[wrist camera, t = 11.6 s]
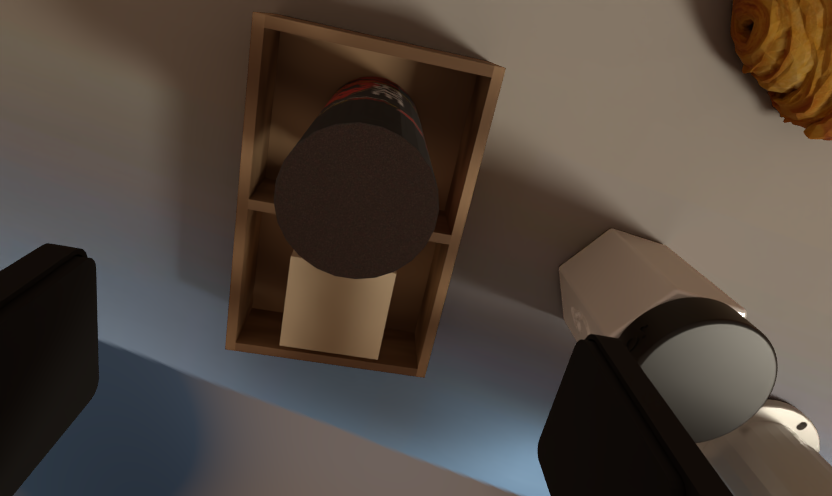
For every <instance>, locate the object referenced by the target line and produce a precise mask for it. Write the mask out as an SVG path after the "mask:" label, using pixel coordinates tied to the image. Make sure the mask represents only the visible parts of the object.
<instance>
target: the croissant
mask: <svg viewBox="0 0 832 496" xmlns="http://www.w3.org/2000/svg"><path fill="white" fill-rule="evenodd" d="M730 33H731V37H732V40H733V41H734V44H735V52H736V53H737V55H738V56H739V58H740V59H741V61H742V63H743V68H742V72H743V73H744V74H745V73H751V75H752V76H753V77H754V78H755V79H756V80H757V81H758V84H759V85H760V86H761V87H763V88H764V89H766V90H768V94H769V95H770V98H771V101H772V106H773V107H774V108H776V110H777V111H778V112H779V113H780V117H784V118H785V119H784V123H786V122H792V124H793V125H798V126H802V127H804V128H806V129H805V130H804V134H805V135H806V136H807V137H808V138H809V139H823V140H832V0H733V8H732V18H731V32H730Z"/></svg>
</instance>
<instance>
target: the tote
mask: <svg viewBox="0 0 832 496" xmlns="http://www.w3.org/2000/svg"><path fill="white" fill-rule="evenodd" d="M505 69H506V68H504V67H501V66H499V65H496V64H494V63H491V62H489V61H484V60H480V59H475V58H471V57H466V56H462V55H457V54H453V53H448V52H444V51H440V50H435V49H431V48H426V47H422V46H417V45H413V44H408V43H404V42H399V41H395V40H390V39H386V38H381V37H377V36H372V35H368V34H364V33H359V32H355V31H350V30H346V29H341V28H337V27H332V26H328V25H323V24H319V23H314V22H310V21H305V20H301V19H296V18H292V17H288V16H283V15H279V14H274V13H261V12H253V16H252V28H251V40H250V52H249V65H248V77H247V89H246V101H245V114H244V126H243V138H242V150H241V163H240V175H239V187H238V199H237V211H236V224H235V236H234V248H233V260H232V273H231V285H230V297H229V309H228V322H227V334H226V346H225V349H227V350H234V351H241V352H248V353H255V354H262V355H269V356H276V357H283V358H290V359H297V360H304V361H311V362H318V363H325V364H332V365H339V366H346V367H353V368H360V369H367V370H374V371H381V372H388V373H395V374H402V375H409V376H416V377H423V378H425V374H426V370H427V367H428V363H429V359H430V355H431V351H432V347H433V344H434V340H435V336H436V332H437V328H438V325H439V321H440V317H441V313H442V309H443V306H444V302H445V298H446V294H447V290H448V286H449V283H450V279H451V275H452V271H453V267H454V264H455V260H456V256H457V252H458V248H459V245H460V241H461V237H462V233H463V229H464V225H465V222H466V218H467V214H468V210H469V206H470V203H471V199H472V195H473V191H474V187H475V184H476V180H477V176H478V172H479V168H480V164H481V161H482V157H483V153H484V149H485V145H486V142H487V138H488V134H489V130H490V126H491V123H492V119H493V115H494V111H495V107H496V104H497V100H498V96H499V92H500V88H501V84H502V81H503V77H504V73H505ZM368 76H375V77H380V78H385V79H388V80H390V81H392V82H394V83H396V84H398V85H399V86H400V87H401V88H402V89H403V90H404V91H406V92H407V93H408V95H409V96H410V98H411V99H412V101H413V102H414V104H415V107H416V110H417V113H418V116H419V119H420V123H421V127H422V130H423V134H424V138H425V142H426V146H427V149H428V153H429V157H430V161H431V164H432V168H433V172H434V176H435V179H436V183H437V187H438V196H439V213H438V217H437V221H436V226H435V230H434V231H433V233H432V235H431V237H430V239H429V241H428V243H427V244H426V246H425V248H424V249H423V250H422V251H421V252H420V253H419V254H418V255H417V256H416V257H415V258H414V259H413V260H412V261H411V262H409V263H408V264H406V265H404V266H403V267H401V268H400V269H398V270H396V278H395V282H394V287H393V292H392V296H391V301H390V305H389V310H388V315H387V319H386V324H385V328H384V333H383V338H382V342H381V347H380V351H379V356H378V360H376V359H369V358H362V357H355V356H348V355H342V354H335V353H328V352H321V351H314V350H307V349H300V348H293V347H287V346H280V337H281V329H282V321H283V313H284V306H285V298H286V290H287V282H288V275H289V267H290V259H291V255H292V252H293V250H294V249H293V248H292V247H291V246H290V244H289V243H288V242H287V241H286V239H285V237H284V235H283V233H282V231H281V228H280V226H279V224H278V222H277V217H276V212H275V207H274V192H275V182H276V179H277V176H278V174H279V171H280V169H281V166H282V164H283V161H284V160H285V159H286V157H287V156H288V155H289V153H290V152H291V151H292V149H293V148H294V147H295V145H296V144H297V143H298V141H299V140H300V139H301V137H302V136H303V135H304V133H305V132H306V131H307V129H308V128H309V127H310V125H311V124H312V123H313V121H314V120H315V119H316V117H317V116H318V115H319V113H320V112H321V111H322V109H323V108H324V107H325V105H326V104H327V103H328V101H329V100H330V99H331V98H332V96H333V95H334V94H335V92H336V91H337V90H338V89H339V88H340V87H342V86H343V85H344V84H346V83H347V82H349V81H351V80H354V79H357V78H359V77H368Z"/></svg>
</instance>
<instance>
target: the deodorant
mask: <svg viewBox="0 0 832 496" xmlns="http://www.w3.org/2000/svg"><path fill="white" fill-rule="evenodd" d="M274 207H275V212H276V217H277V222H278V224H279V226H280V228H281V231H282V233H283V235H284V237H285V239H286V241H287V242H288V243H289V244H290V246H291V247H292V248H293V249H294V250H295V252H296V253H297V254H298V255H299V256H300V257H301V258H303V259H304V260H305V261H307V262H308V263H309V264H311V265H312V266H314V267H315V268H317V269H319V270H321V271H324V272H326V273H329V274H331V275H334V276H338V277H344V278H350V279H366V278H376V277H380V276H383V275H386V274H389V273H392V272H395V271H396V270H398V269H400V268H401V267H403V266H404V265H406V264H408V263H409V262H411V261H412V260H413V259H414V258H415V257H416V256H417V255H418V254H419V253H420V252H421V251H422V250H423V249H424V248H425V246H426V244H427V243H428V241H429V239H430V237H431V235H432V233H433V231H434V230H435V226H436V221H437V217H438V213H439V196H438V187H437V183H436V179H435V176H434V172H433V168H432V164H431V161H430V157H429V153H428V149H427V146H426V142H425V138H424V134H423V130H422V127H421V123H420V119H419V116H418V113H417V110H416V107H415V104H414V102H413V101H412V99H411V98H410V96H409V95H408V93H407V92H406V91H404V90H403V89H402V88H401V87H400V86H399V85H398V84H396V83H394V82H392V81H390V80H388V79H385V78H380V77H375V76H368V77H359V78H357V79H354V80H351V81H349V82H347V83H346V84H344V85H343V86H342V87H340V88H339V89H338V90H337V91H336V92H335V94H334V95H333V96H332V98H331V99H330V100H329V101H328V103H327V104H326V105H325V107H324V108H323V109H322V111H321V112H320V113H319V115H318V116H317V117H316V119H315V120H314V121H313V123H312V124H311V125H310V127H309V128H308V129H307V131H306V132H305V133H304V135H303V136H302V137H301V139H300V140H299V141H298V143H297V144H296V145H295V147H294V148H293V149H292V151H291V152H290V153H289V155H288V156H287V157H286V159H285V160H284V161H283V164H282V166H281V169H280V171H279V174H278V176H277V179H276V182H275V192H274Z"/></svg>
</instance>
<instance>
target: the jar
mask: <svg viewBox="0 0 832 496" xmlns="http://www.w3.org/2000/svg"><path fill="white" fill-rule="evenodd" d="M559 277H560V287H561V297H562V307H563V318H564V321H565V323H566V324H567V326H568V328H569V329H570V331H571V333H572V335H573V336H574V338H575V340H576V341H577V342H578V341H579V340H580V339H583V340H585V338H586V337H587V336H588V335H590V334H596V335H602V336H608V337H614V338H619V339H620V340H621V341H622V342H623V343H624V345H625V346H626V348H627V349H628V350H629V352H630V353H631V355H632V356H633V357H634V359H635V360H636V361H637V363H638V364H639V366H640V367H641V368H642V370H643V371H644V373H645V374H646V375H647V377H648V378H649V379H650V381H651V382H652V384H653V385H654V386H655V388H656V389H657V391H658V392H659V393H660V395H661V396H662V397H663V399H664V400H665V402H666V403H667V404H668V406H669V407H670V408H671V410H672V411H673V413H674V414H675V415H676V417H677V418H678V420H679V421H680V422H681V424H682V425H683V426H684V428H685V429H686V431H687V432H688V433H689V435H690V436H691V438H692V439H693V440H694V442H695V443H701V442H706V441H710V440H713V439H716V438H719V437H721V436H723V435H726V434H728V433H730V432H732V431H733V430H735V429H737V428H738V427H740V426H741V425H743V424H744V423H746V422H747V421H748V420H749V419H750V418H752V417H753V416H754V415H755V414H756V413H757V412H758V411H759V410H760V408H761V407H762V406H763V405H764V403H765V402H766V400H767V399H768V397H769V396H770V394H771V392H772V390H773V387H774V384H775V381H776V377H777V357H776V353H775V350H774V348H773V346H772V344H771V342H770V341H769V340H768V338H767V337H766V336H765V335H764V334H763V333H762V332H761V331H760V330H758V329H757V328H756V327H755V326H754V325H752V324H751V323H750V322H749V321H748V320H746V310H745V309H744V308H743V307H741V306H740V305H739V304H738V303H736V302H735V301H734V300H733V299H732V298H730V297H729V296H728V295H727V294H725V293H724V292H723V291H722V290H720V289H719V288H718V287H717V286H715V285H714V284H713V283H712V282H711V281H709V280H708V279H707V278H706V277H704V276H703V275H702V274H701V273H699V272H698V271H697V270H696V269H694V268H693V267H692V266H691V265H689V264H688V263H687V262H686V261H685V260H683V259H682V258H681V257H680V256H678V255H677V254H676V253H675V252H673V251H672V250H671V249H670V248H668V247H667V246H666V245H663V244H660V243H656V242H653V241H650V240H647V239H644V238H641V237H638V236H635V235H631V234H628V233H625V232H622V231H619V230H616V229H613V228H612V229H609V230H608V231H606V232H605V233H604V234H602V235H601V236H600V237H598V238H597V239H596V240H594V241H593V242H592V243H590V244H589V245H588V246H586V247H585V248H584V249H582V250H581V251H580V252H578V253H577V254H576V255H574V256H573V257H572V258H570V259H569V260H568V261H566V262H565V263H564V264H562V265H561V266H560V267H559Z"/></svg>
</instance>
